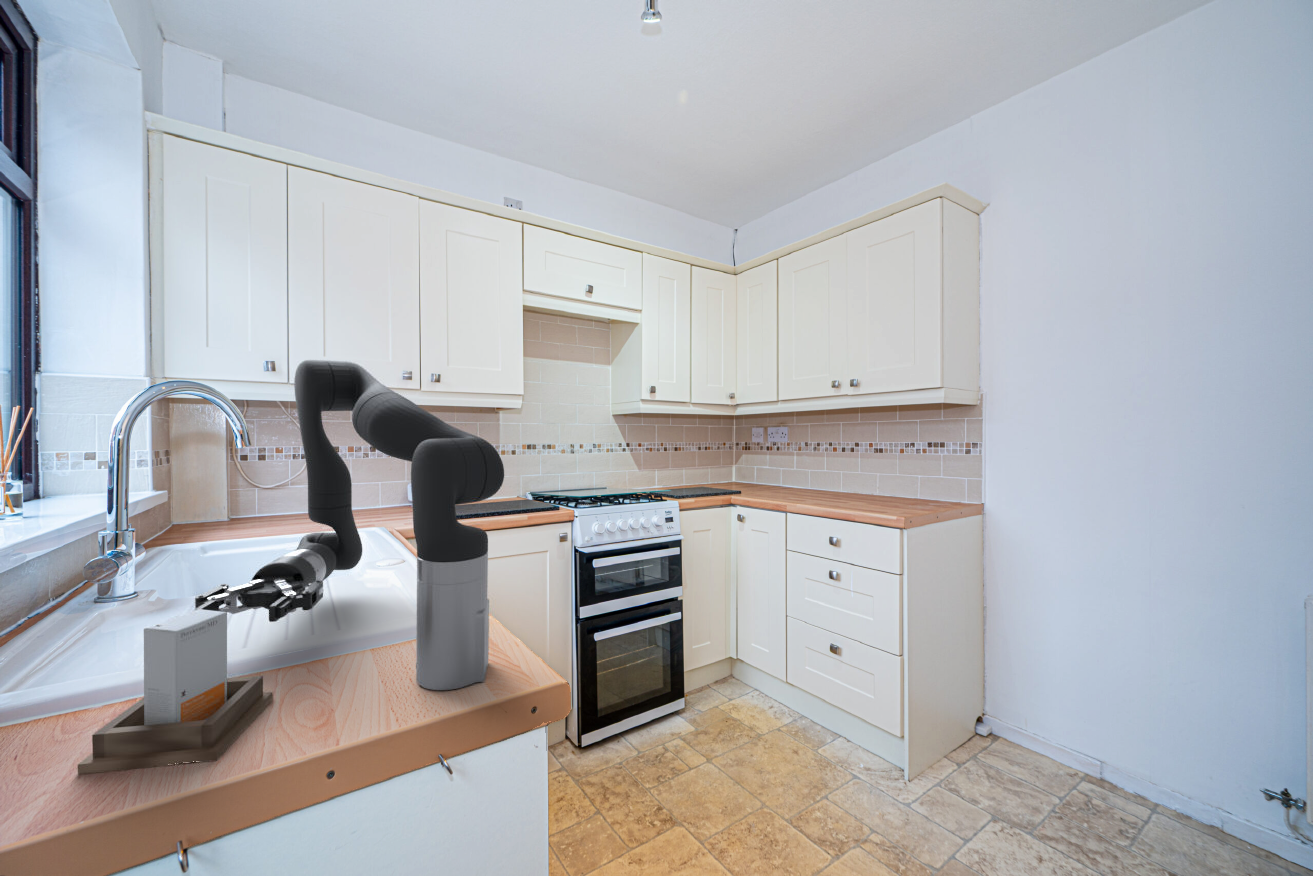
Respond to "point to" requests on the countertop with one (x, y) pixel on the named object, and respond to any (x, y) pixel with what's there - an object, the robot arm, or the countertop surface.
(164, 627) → the skincare box
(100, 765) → the tray
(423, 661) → the robot arm
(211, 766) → the countertop surface
